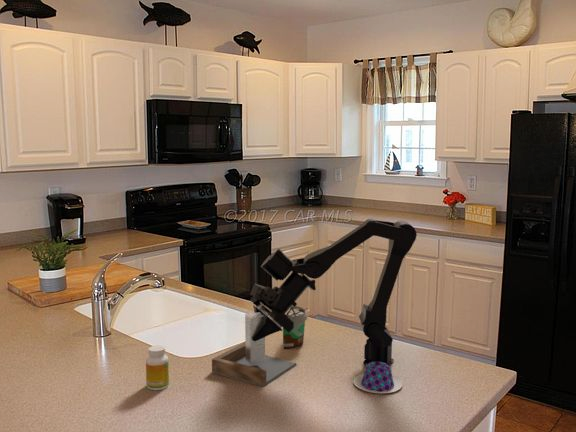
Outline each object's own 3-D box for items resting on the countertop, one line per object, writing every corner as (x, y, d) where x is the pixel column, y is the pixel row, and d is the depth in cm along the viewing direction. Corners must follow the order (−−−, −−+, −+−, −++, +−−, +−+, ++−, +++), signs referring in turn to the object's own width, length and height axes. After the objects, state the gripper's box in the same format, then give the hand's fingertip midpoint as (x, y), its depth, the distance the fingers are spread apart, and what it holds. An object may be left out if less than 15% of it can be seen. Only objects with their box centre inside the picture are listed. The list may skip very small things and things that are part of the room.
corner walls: (296, 362, 153) (296, 352, 152) (262, 384, 139) (262, 372, 139) (248, 350, 161) (248, 340, 160) (212, 370, 147) (211, 359, 147)
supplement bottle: (168, 390, 137) (167, 351, 136) (145, 391, 136) (144, 352, 135) (169, 380, 142) (168, 343, 141) (147, 382, 141) (146, 344, 140)
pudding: (364, 371, 149) (365, 352, 149) (408, 382, 143) (409, 362, 142) (345, 388, 139) (345, 368, 138) (391, 400, 133) (392, 379, 132)
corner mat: (296, 364, 153) (296, 362, 153) (262, 386, 139) (262, 384, 139) (248, 352, 161) (248, 350, 161) (212, 372, 147) (212, 370, 147)
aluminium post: (259, 357, 152) (259, 312, 151) (265, 362, 149) (264, 316, 147) (245, 359, 151) (245, 314, 149) (250, 364, 147) (250, 318, 145)
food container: (303, 352, 162) (303, 318, 160) (282, 350, 163) (282, 317, 161) (310, 337, 174) (310, 306, 172) (290, 336, 175) (290, 304, 173)
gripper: (256, 265, 157) (218, 309, 154) (282, 281, 140) (240, 330, 137) (283, 290, 161) (246, 333, 158) (311, 308, 144) (271, 357, 141)
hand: (250, 337), depth 148 cm, fingers closed on aluminium post, 4 cm apart
